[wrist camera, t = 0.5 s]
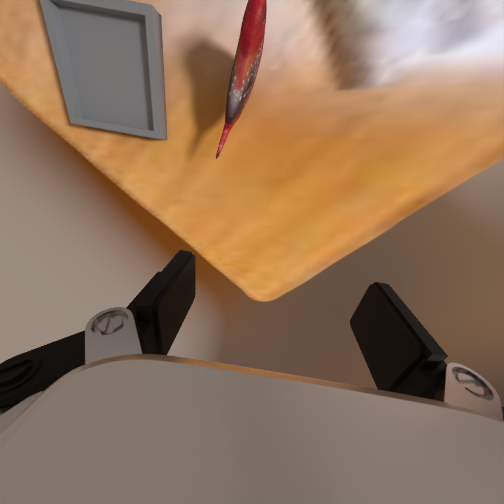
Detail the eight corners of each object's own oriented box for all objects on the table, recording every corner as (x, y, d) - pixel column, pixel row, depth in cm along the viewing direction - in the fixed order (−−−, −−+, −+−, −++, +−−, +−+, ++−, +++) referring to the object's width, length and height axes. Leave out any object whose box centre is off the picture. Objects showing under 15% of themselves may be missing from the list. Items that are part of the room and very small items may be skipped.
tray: (53, -4, 27) (35, -16, 25) (161, 15, 27) (151, 5, 25) (82, 124, 34) (70, 123, 32) (167, 139, 34) (160, 139, 32)
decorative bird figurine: (276, 29, 27) (279, -27, 18) (232, 160, 35) (219, 165, 26) (257, 17, 26) (250, -45, 18) (217, 153, 35) (198, 156, 26)
